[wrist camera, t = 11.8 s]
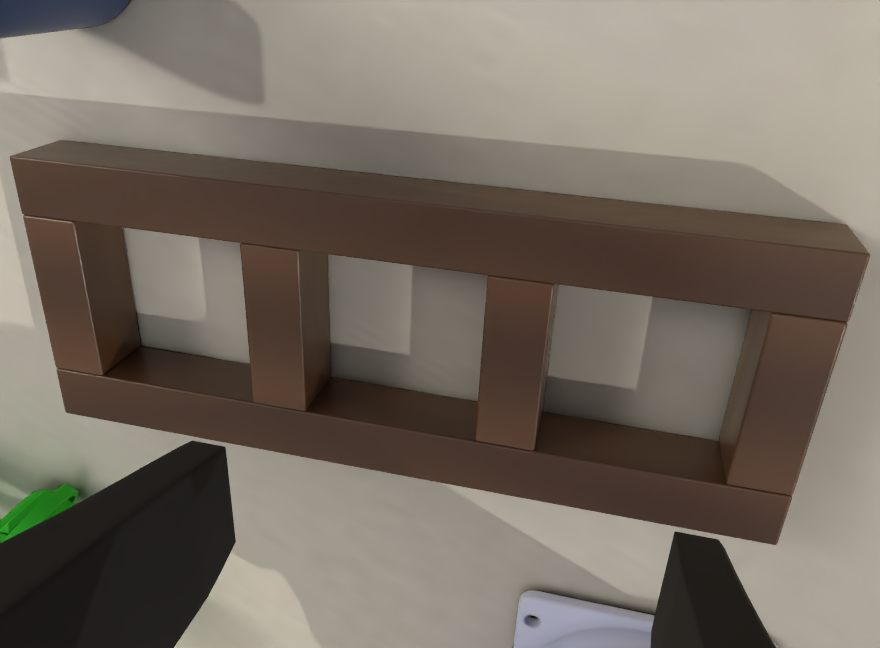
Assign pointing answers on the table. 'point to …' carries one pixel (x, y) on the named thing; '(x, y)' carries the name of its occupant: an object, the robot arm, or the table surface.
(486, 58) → the table surface
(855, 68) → the table surface
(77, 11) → the peg
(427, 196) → the peg board
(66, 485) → the chandelier
